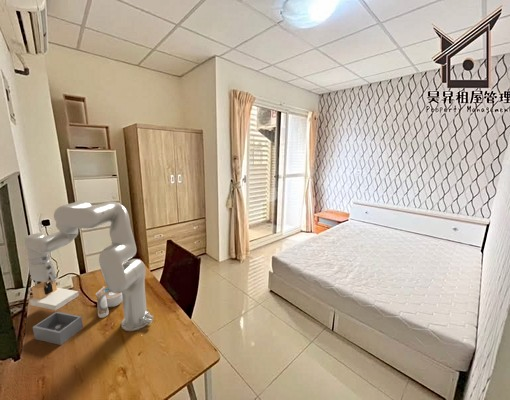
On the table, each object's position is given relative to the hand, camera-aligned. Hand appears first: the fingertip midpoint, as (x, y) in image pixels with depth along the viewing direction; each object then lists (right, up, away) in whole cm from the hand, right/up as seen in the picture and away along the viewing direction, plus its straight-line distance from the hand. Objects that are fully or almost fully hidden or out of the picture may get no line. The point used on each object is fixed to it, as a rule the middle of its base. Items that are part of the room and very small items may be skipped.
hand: (45, 291), depth 115 cm
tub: (+18, -14, -12) cm, 26 cm away
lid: (+5, -4, 0) cm, 7 cm away
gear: (+19, -3, +17) cm, 26 cm away
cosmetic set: (+30, -10, +8) cm, 32 cm away
